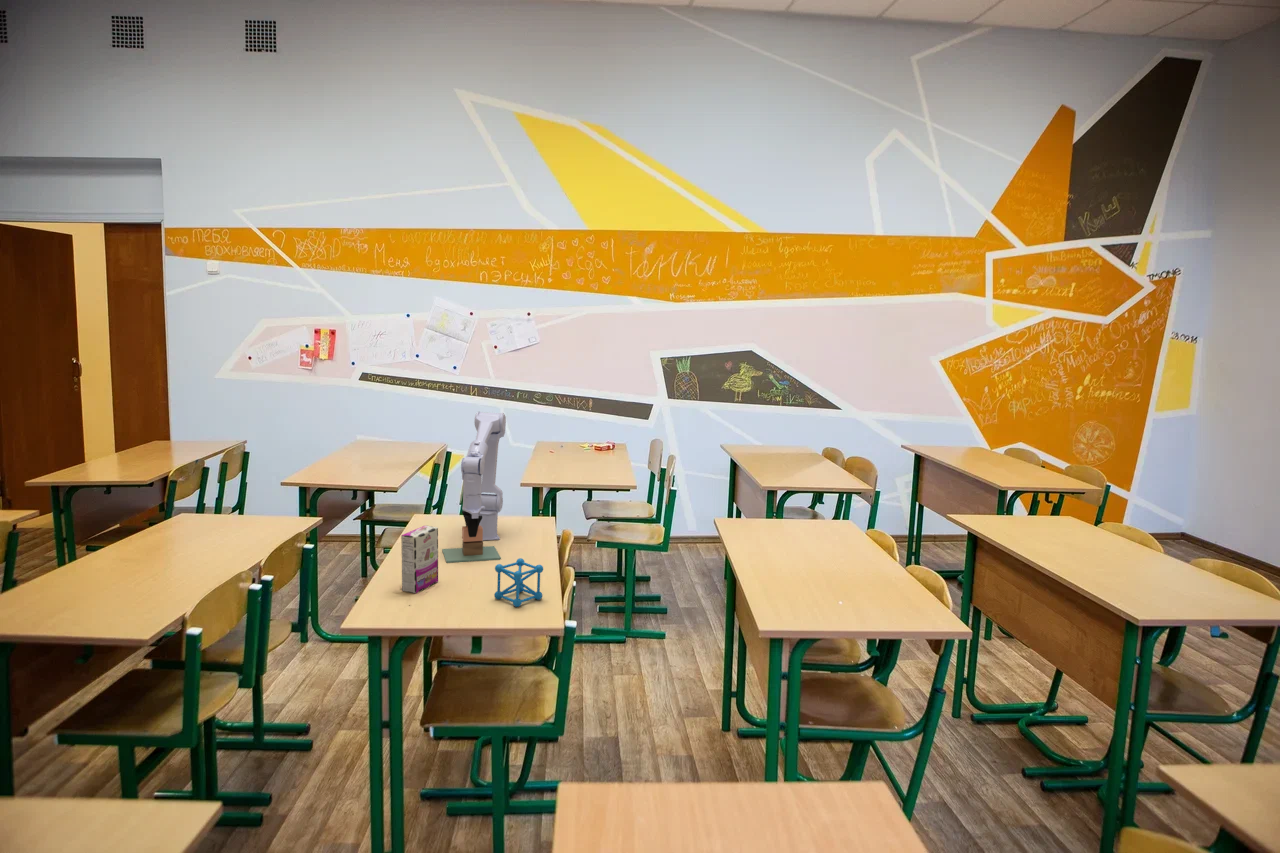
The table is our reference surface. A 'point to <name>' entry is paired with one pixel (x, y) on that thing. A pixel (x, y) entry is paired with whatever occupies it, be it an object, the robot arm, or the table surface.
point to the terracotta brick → (468, 539)
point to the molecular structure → (518, 582)
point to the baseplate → (457, 555)
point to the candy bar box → (419, 559)
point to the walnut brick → (472, 548)
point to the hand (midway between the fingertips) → (471, 534)
